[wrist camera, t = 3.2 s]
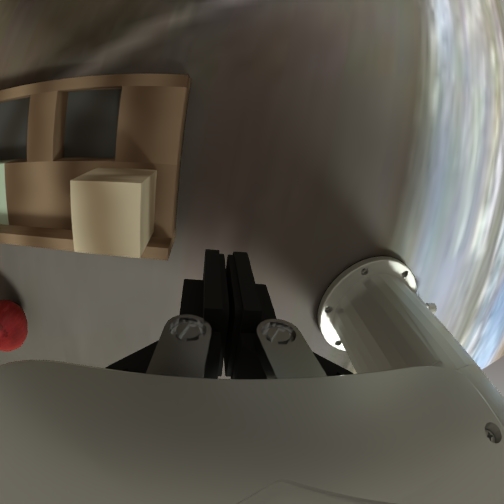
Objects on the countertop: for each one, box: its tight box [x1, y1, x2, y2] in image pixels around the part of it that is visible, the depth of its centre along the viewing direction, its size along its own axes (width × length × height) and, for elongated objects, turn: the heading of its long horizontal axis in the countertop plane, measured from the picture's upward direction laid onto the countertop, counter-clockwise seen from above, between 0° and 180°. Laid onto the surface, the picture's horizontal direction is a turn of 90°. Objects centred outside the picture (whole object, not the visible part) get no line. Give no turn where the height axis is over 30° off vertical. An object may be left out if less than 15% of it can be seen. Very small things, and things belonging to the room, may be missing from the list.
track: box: [0, 74, 191, 260], centre depth 19 cm, size 24×14×6 cm, turn 81°
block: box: [70, 167, 157, 258], centre depth 19 cm, size 5×5×5 cm
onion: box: [0, 300, 28, 351], centre depth 24 cm, size 6×6×8 cm
